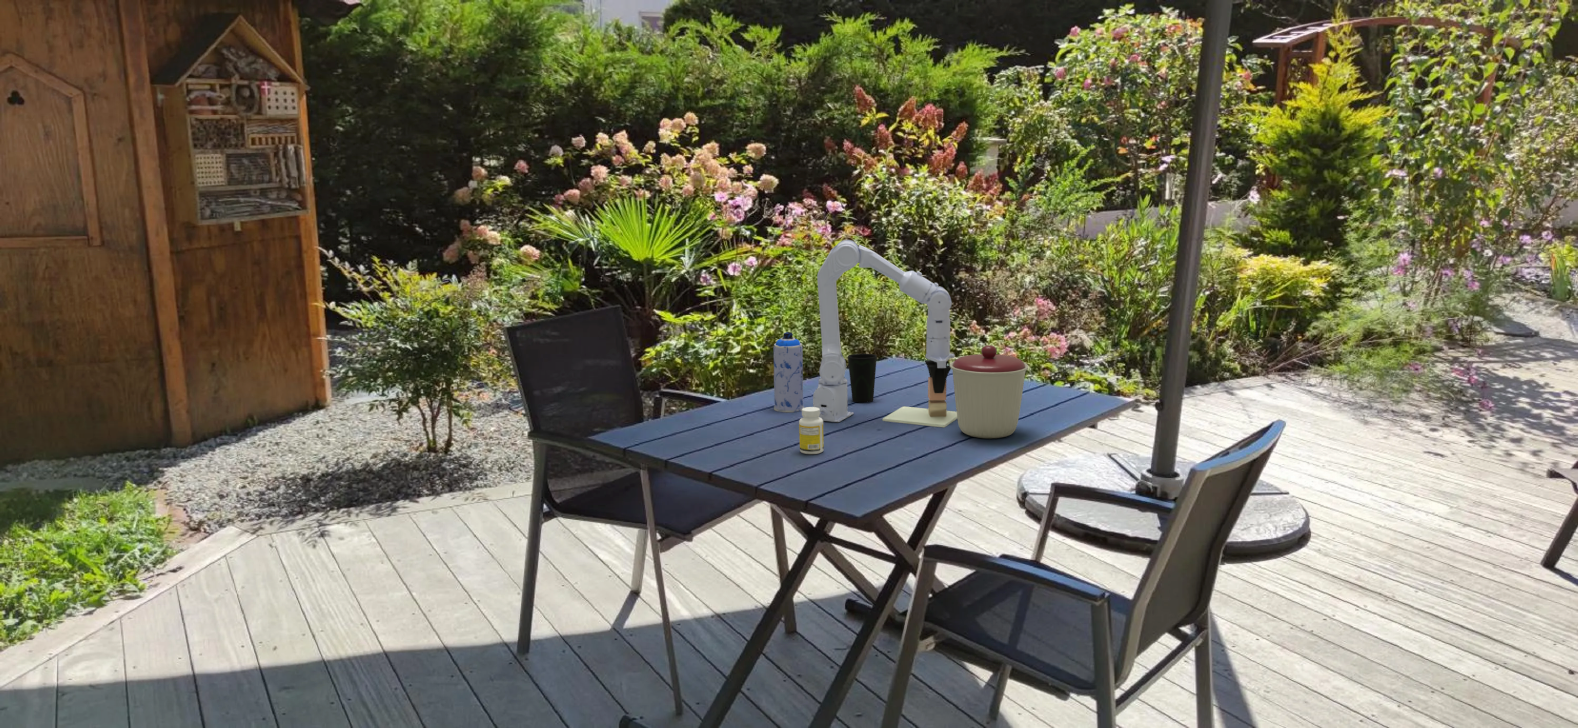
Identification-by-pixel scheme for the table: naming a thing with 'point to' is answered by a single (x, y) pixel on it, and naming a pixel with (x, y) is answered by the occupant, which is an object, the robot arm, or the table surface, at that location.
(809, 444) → the supplement bottle
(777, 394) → the aerosol can
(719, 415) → the table surface
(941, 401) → the beech brick
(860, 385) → the cup
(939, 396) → the terracotta brick
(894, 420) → the plate
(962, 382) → the canister
